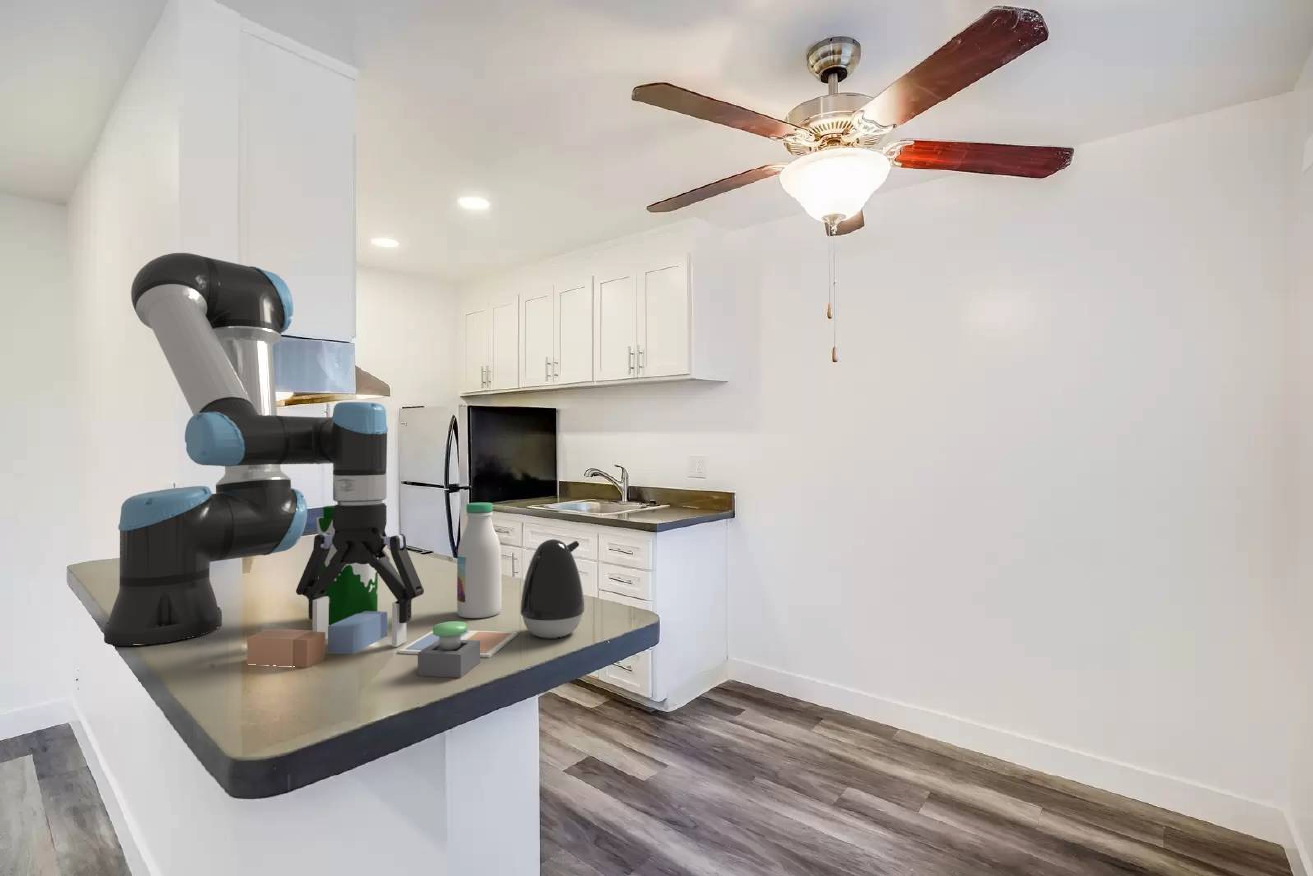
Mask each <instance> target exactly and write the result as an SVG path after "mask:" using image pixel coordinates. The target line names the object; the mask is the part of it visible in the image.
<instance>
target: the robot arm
mask: <svg viewBox="0 0 1313 876" xmlns="http://www.w3.org/2000/svg"><path fill="white" fill-rule="evenodd" d="M130 290H131V291H130V297H131V303H132V306H133V309H134V311H135V314H136V316H137V318H138V320H139V321H140V322H141V323H142V325H145V326H146V327H147V328H149V329H150V330H151V329H152V332H153V333H154V335H155V338H156V340H157V341H158V344H159V346H160V349H161V350H162V353H163V354H164V357H165V359H166V361H167V363H168V365H169V366H170V368H171V371H172V373H173V375H174V377H175V380H176V381H177V383H178V386H179V388H180V390H181V392H182V394H183V396H184V398H185V400H186V403H187V404H188V407H189V409H190V411H191V413H192V416H191V417H190V418H189V420H188V422H187V424H186V427H185V431H184V442H185V444H186V447H185V450H186V452H187V456H188V457H189V459H191V461H192V462H194V463H195V464H197V465H201V466H216V467H224V475H223V477H221V478H220V479H219V480H218V481H217V482H216V483H215V493H213V492H212V491H211V489H210V487H209V486H206V485H204V486H203V485H199V486H198V485H197V486H196V485H195V486H194V485H193V486H184V487H174V488H167V489H160V490H155V491H150V492H149V491H148V492H144V493H140V494H136V495H132V496H130V497H129V498H127V499H125V501H124V502H122V505H121V506H120V517H119V523H118V527H117V529H118V530H119V589H118V593H117V596H116V598H115V601H114V603H113V607H112V609H111V613H110V616H109V620H108V621H107V622H106V623H105V624H104V628H103V629H104V630H103V637H104V638H103V642H104V643H105V644H107V645H111V646H116V647H117V646H118V647H134V646H133V644H150V645H157V643H159V644H164V643H163V642H166V643H170V642H169V641H172V642H177V640H178V641H181V640H180V639H183V638H187V639H189V638H188V637H191V638H193V637H192V636H195V637H199V636H202V635H204V634H203V633H206V632H208V633H211V632H213V631H215V630H214V629H216V628H217V627H219V628H221V626H222V625H221V624H223V623H222V622H223V621H222V619H223V618H222V617H223V611H222V609H221V607H220V606H218V603H217V599H216V598H217V597H216V595H215V593H214V589H213V586H212V584H211V580H210V565H211V562H218V561H219V562H221V561H226V560H227V561H228V560H234V559H241V558H242V559H243V558H248V557H257V556H269V555H271V554H274V553H281V552H284V551H285V552H286V551H288V550H290V549H292V548H293V547H294V546H295V545H296V544H297V543H298V542H299V541H300V539H301V537H302V536H303V534H304V530H305V528H306V524H307V520H308V505H307V501H306V499H305V498H304V493H302V492H301V491H300V490H298V489H296V488H293V487H292V481H291V477H289V476H288V475H286V474H285V472H283V471H282V470H281V465H314V464H315V465H322V464H323V465H324V464H327V465H328V464H332V500H333V501H334V502H337V504H335V505H333V506H334V507H333V528H334V529H335V533H334V535H331V534H330V533H325V534H320V535H318V534H317V535H315V536H314V538H313V549H312V552H311V554H310V555H309V559H308V561H307V563H306V565H305V568H304V570H303V573H302V575H301V578H300V580H299V581H298V584H297V587H296V589H295V593H296V595H298V596H301V595H302V596H304V597H306V598H307V601H308V619H309V620H310V621H312V631H313V632H325V640H328V626H329V597H328V596H324V597H322V596H323V595H325V594H326V593H325V592H326V590H327V589H328V588H329V586H330V585H331V584H332V582H333V581H334V580H335V578H336V577H337V576H338V574H339V573H340V572H341V570H342V569H343V567H344V566H345V565H346V564H353V563H358V564H368V563H369V565H370V566H371V567H372V568H374V569H375V570H376V571H377V573H378V576H379V577H380V578H381V580H382V581H383V582H384V584H385V586H386V587H387V588H388V590H389V591H390V592H391V593H392V595H393V597H394V598H395V599H396V601H394V602H391V604H392V605H391V608H392V609H391V615H392V616H391V629H392V631H391V633H392V634H391V647H395V648H398V647H399V646H401V645H403V644H404V643H406V642H407V623H408V622H411V620H412V601H413V599H416V598H417V597H420V596H422V595H423V594H424V593H425V589H424V587H423V585H422V583H421V580H420V577H419V575H418V573H417V571H416V568H415V566H414V563H413V561H412V558H411V556H410V554H409V551H408V549H407V540H406V539H407V538H406V535H405V534H404V533H401V534H396V535H389V536H388V535H387V532H386V527H387V524H388V523H387V520H388V519H387V512H388V511H387V508H388V507H387V505H386V503H385V502H383V501H385V500H386V499H387V498H388V495H387V492H388V491H387V490H388V488H387V487H388V486H387V484H388V482H387V480H388V479H387V478H388V477H387V467H388V466H387V464H388V463H387V462H388V461H387V460H388V459H387V457H388V431H389V429H388V428H389V427H388V425H387V410H386V407H385V405H382V404H381V403H377V402H367V401H366V402H365V401H343V402H342V401H341V402H338V403H336V404H335V405H334V407H333V410H332V411H333V412H332V416H327V417H326V416H323V417H322V416H317V417H315V416H300V415H299V416H298V415H297V416H295V415H294V416H292V415H278V413H277V412H278V410H277V396H276V378H275V363H274V351H273V350H274V349H273V347H274V346H275V344H277V343H278V342H279V341H281V339H282V333H285V331H287V330H288V329H289V327H290V326H291V323H292V318H291V317H292V316H293V315H294V302H293V297H292V294H291V290H290V288H289V287H288V285H287V283H286V282H285V281H284V279H283V278H281V277H280V275H278V274H276V273H274V272H271V271H269V270H268V271H267V270H264V269H261V268H260V267H257V266H252V265H251V266H247V265H245V264H238V263H234V262H231V261H225V260H220V259H216V258H212V257H208V256H207V257H206V256H203V255H200V254H194V253H191V252H174V253H173V252H172V253H168V254H163V255H161V256H159V257H156V258H154V259H152V260H150V261H148V262H147V263H146V264H145V265H143V267H142V268H141V269H139V271H138V272H137V273H136V276H135V277H134V279H133V281H132V284H131V289H130ZM332 545H334V547H335V548H336V550H337V552H336V553H335V554H334V556H333V557H332V558H331V560H330V563H329V565H328V566H327V567H326V569H325V570H324V571H323V573H322V574H321V575H320V573H321V570H322V568H323V566H324V563H325V561H326V559H327V556H328V554H329V551H330V548H331V547H332ZM386 546H387V549H388V550H389V551H390V555H391V558H392V560H393V562H394V565H395V567H394V565H393V564H392V563H391V561H390V557H389V555H388V554H387V552H386V551H385V548H386ZM377 558H378V559H377ZM319 575H320V577H319ZM324 593H325V594H324ZM217 629H218V628H217ZM217 629H216V630H217ZM212 630H213V631H212ZM210 631H211V632H210ZM201 634H202V635H201ZM206 634H207V633H206ZM198 635H199V636H198ZM183 640H184V639H183Z"/></svg>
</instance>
